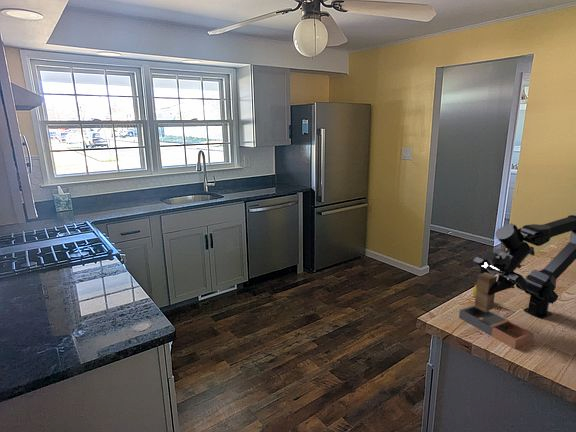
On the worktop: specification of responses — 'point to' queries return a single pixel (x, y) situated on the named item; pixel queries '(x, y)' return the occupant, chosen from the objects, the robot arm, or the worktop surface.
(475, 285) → the lemon
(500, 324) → the rail
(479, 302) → the peg
